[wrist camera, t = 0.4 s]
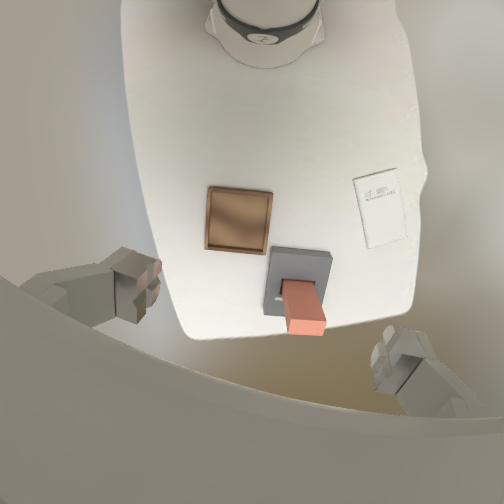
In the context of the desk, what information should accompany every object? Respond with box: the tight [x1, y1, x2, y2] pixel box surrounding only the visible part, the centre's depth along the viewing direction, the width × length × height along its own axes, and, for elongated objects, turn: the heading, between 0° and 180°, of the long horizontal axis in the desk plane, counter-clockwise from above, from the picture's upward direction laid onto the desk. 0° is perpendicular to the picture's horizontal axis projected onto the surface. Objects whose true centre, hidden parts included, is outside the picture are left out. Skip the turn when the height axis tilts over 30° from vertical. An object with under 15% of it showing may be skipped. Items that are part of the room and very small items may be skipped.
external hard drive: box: [353, 168, 408, 249], centre depth 46 cm, size 2×8×12 cm
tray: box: [204, 187, 273, 255], centre depth 47 cm, size 10×10×2 cm
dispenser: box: [263, 246, 333, 317], centre depth 50 cm, size 12×10×3 cm
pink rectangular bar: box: [281, 278, 327, 336], centre depth 45 cm, size 2×5×14 cm, turn 84°
